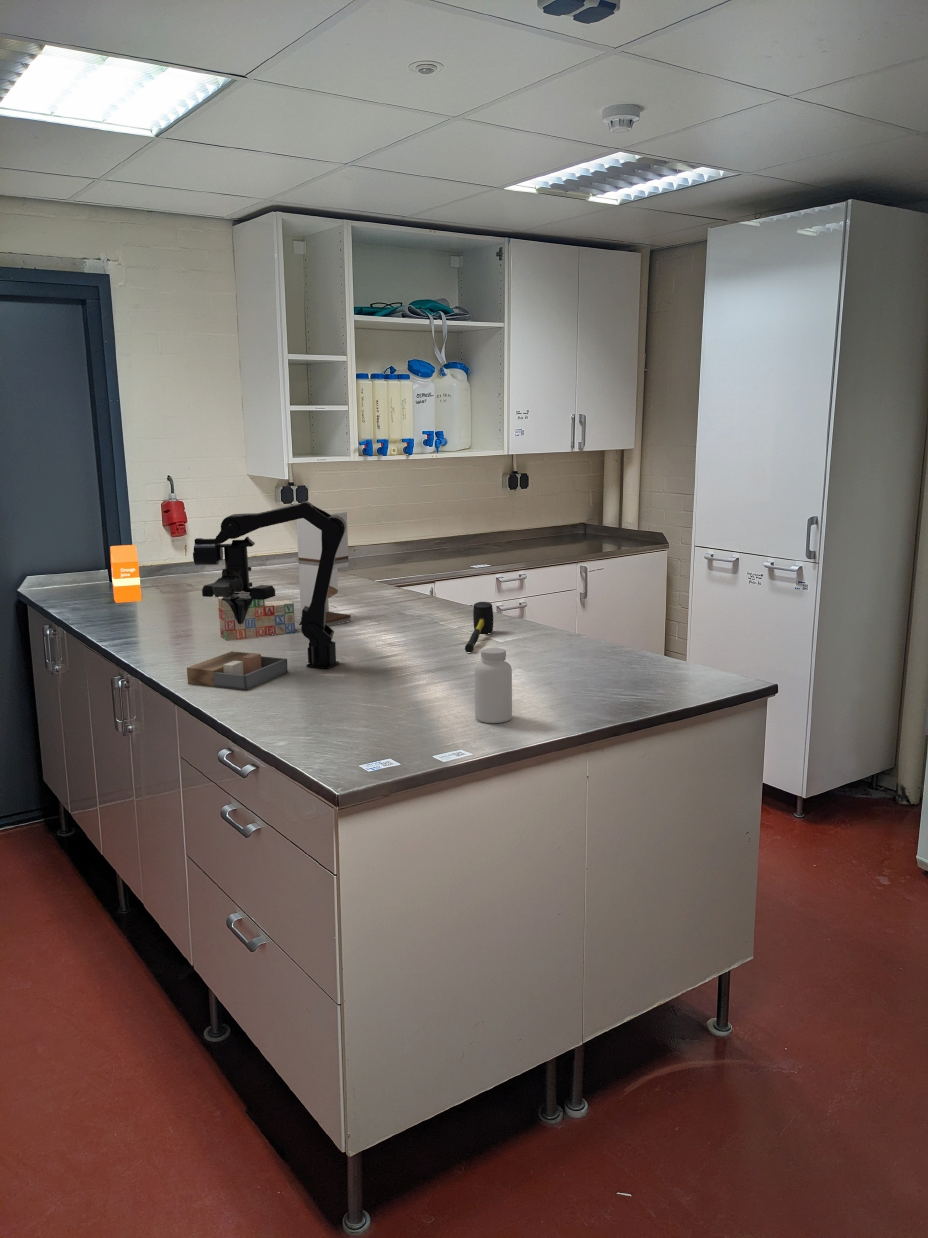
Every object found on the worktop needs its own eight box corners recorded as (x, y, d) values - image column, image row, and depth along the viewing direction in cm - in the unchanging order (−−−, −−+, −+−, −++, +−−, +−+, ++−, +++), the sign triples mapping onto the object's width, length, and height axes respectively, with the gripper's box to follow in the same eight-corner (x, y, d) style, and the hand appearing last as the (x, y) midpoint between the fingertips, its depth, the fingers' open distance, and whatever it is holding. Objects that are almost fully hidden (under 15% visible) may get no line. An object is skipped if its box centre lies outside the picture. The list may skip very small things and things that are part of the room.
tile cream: (235, 678, 234) (243, 679, 233) (224, 682, 230) (233, 683, 229) (234, 660, 233) (242, 661, 232) (223, 664, 229) (231, 665, 228)
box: (287, 672, 241) (286, 658, 241) (245, 690, 225) (244, 676, 224) (258, 668, 245) (257, 655, 244) (214, 686, 228) (213, 672, 228)
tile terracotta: (253, 670, 242) (261, 671, 241) (242, 674, 238) (251, 675, 237) (252, 653, 241) (260, 653, 240) (241, 657, 237) (250, 657, 236)
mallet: (480, 654, 258) (479, 620, 256) (458, 654, 259) (457, 620, 257) (494, 631, 286) (494, 600, 284) (475, 631, 287) (475, 600, 285)
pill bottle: (510, 712, 206) (510, 645, 203) (513, 724, 198) (513, 654, 195) (474, 713, 206) (473, 646, 203) (475, 724, 198) (475, 655, 195)
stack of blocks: (289, 629, 293) (287, 590, 290) (295, 633, 287) (293, 593, 285) (220, 637, 283) (217, 596, 280) (225, 641, 277) (222, 599, 275)
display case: (325, 627, 294) (320, 514, 287) (301, 623, 300) (296, 513, 293) (350, 621, 303) (346, 511, 296) (327, 617, 309) (322, 510, 302)
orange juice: (113, 599, 345) (109, 545, 341) (139, 597, 349) (134, 543, 345) (115, 602, 338) (111, 547, 334) (141, 600, 342) (137, 545, 338)
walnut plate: (258, 668, 245) (257, 653, 244) (214, 686, 228) (213, 670, 228) (232, 666, 248) (231, 651, 247) (187, 683, 232) (186, 667, 231)
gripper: (186, 567, 237) (191, 628, 240) (250, 570, 230) (254, 632, 233) (212, 561, 247) (217, 619, 250) (274, 563, 240) (278, 623, 244)
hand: (240, 623), depth 244 cm, fingers closed
